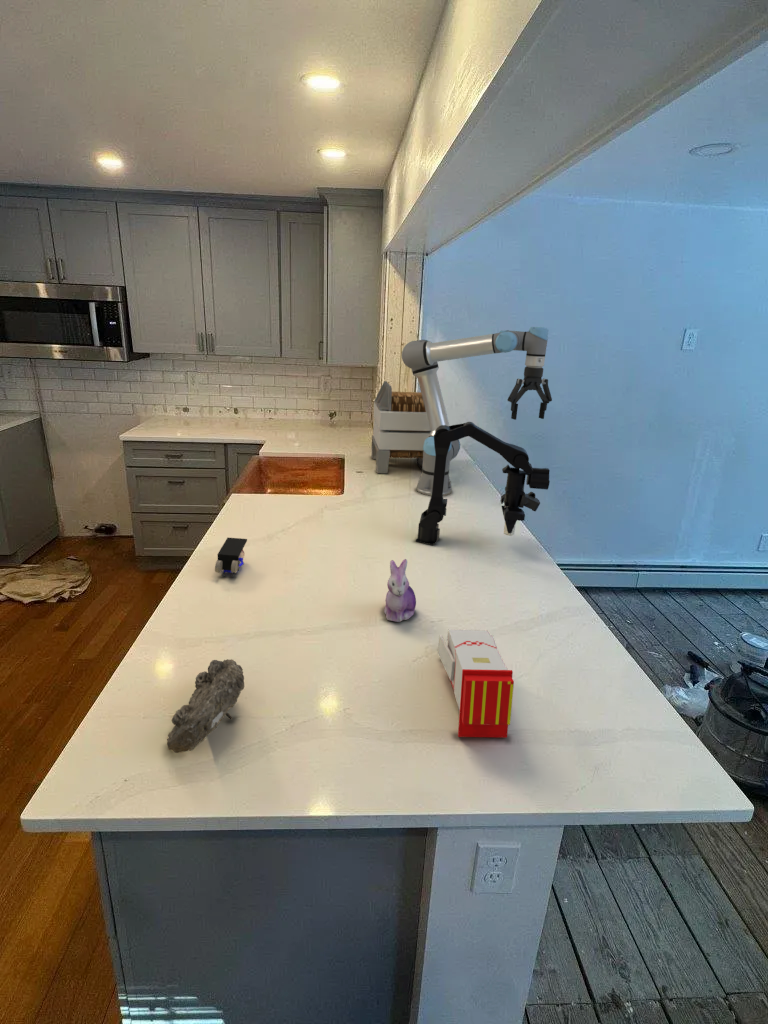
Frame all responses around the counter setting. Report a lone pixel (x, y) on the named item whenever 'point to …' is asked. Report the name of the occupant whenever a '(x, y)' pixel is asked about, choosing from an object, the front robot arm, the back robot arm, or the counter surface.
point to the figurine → (399, 594)
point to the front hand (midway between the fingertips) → (509, 530)
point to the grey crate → (398, 426)
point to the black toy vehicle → (230, 556)
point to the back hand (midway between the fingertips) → (527, 418)
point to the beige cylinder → (507, 531)
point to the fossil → (206, 705)
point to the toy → (478, 682)
